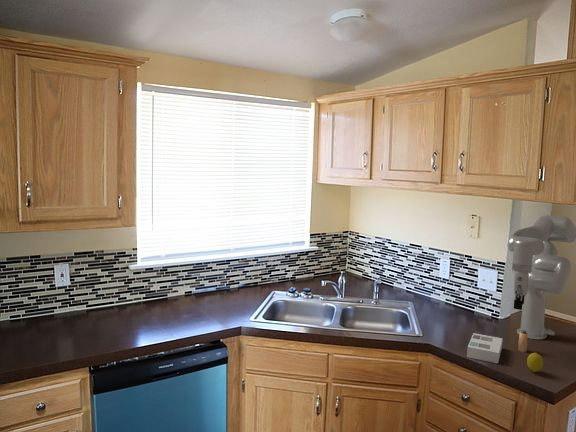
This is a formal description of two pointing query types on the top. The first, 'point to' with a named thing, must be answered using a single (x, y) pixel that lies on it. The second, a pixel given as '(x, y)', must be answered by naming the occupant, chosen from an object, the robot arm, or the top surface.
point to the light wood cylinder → (523, 341)
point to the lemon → (535, 362)
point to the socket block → (484, 348)
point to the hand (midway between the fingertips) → (518, 306)
